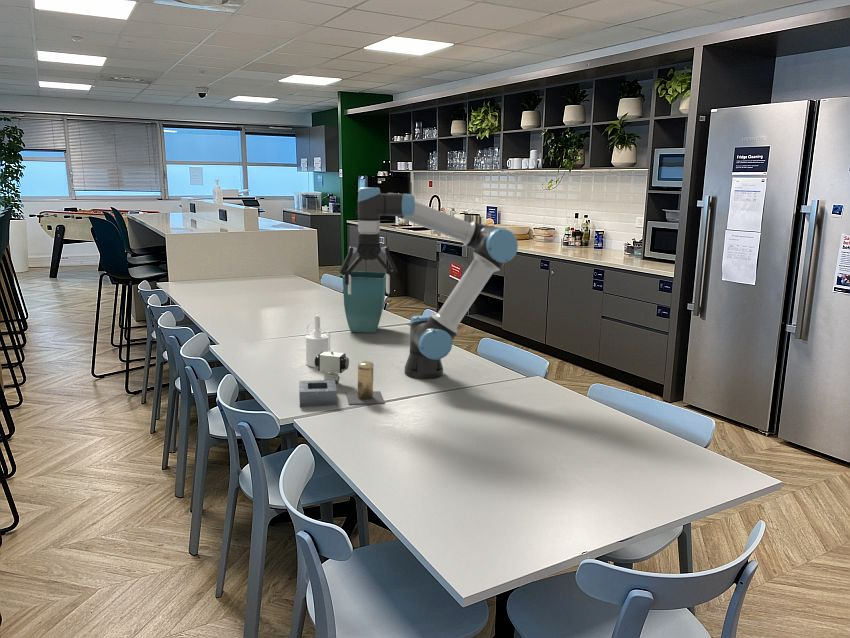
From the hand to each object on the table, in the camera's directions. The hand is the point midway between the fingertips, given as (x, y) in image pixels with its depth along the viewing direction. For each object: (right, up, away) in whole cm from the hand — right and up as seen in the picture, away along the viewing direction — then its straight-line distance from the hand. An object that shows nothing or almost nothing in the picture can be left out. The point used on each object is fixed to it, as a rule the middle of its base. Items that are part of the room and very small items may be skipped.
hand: (368, 293), depth 223 cm
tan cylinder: (-1, -36, -6) cm, 36 cm away
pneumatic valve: (-14, -32, +10) cm, 37 cm away
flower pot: (-11, -15, +94) cm, 96 cm away
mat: (-1, -36, -6) cm, 37 cm away
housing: (-16, -36, -10) cm, 41 cm away
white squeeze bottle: (-23, -27, +33) cm, 49 cm away
